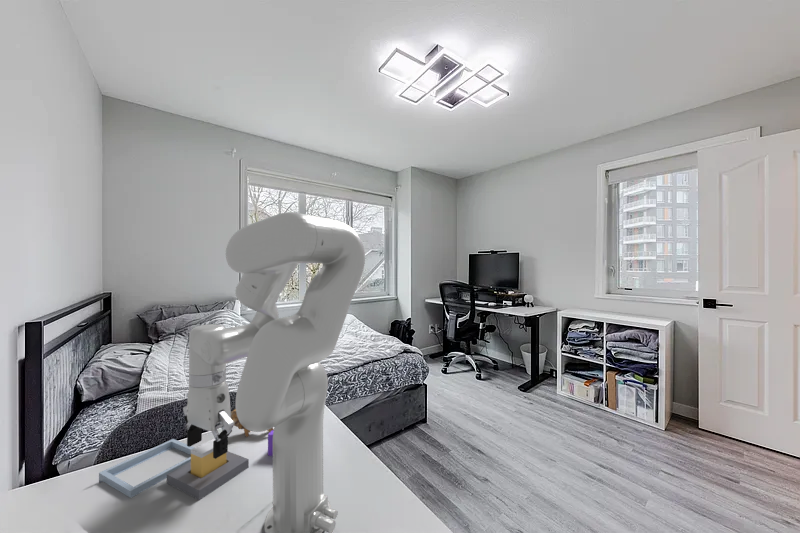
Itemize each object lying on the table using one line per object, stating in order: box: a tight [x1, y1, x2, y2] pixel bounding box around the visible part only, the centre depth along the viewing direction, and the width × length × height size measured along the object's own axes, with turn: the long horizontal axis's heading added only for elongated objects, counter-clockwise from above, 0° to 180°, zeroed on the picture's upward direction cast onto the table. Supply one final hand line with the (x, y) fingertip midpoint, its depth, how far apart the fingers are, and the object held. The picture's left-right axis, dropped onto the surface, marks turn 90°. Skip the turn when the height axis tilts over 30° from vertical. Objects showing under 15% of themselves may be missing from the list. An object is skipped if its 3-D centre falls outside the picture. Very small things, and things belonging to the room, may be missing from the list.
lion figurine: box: [230, 408, 274, 438], centre depth 93 cm, size 15×5×9 cm, turn 101°
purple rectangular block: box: [267, 430, 274, 457], centre depth 88 cm, size 12×7×7 cm, turn 173°
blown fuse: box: [190, 437, 226, 478], centre depth 75 cm, size 4×6×7 cm, turn 154°
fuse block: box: [166, 451, 250, 501], centre depth 75 cm, size 12×12×3 cm
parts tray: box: [98, 438, 196, 499], centre depth 78 cm, size 14×16×2 cm
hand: (207, 449), depth 75 cm, fingers open, 9 cm apart
